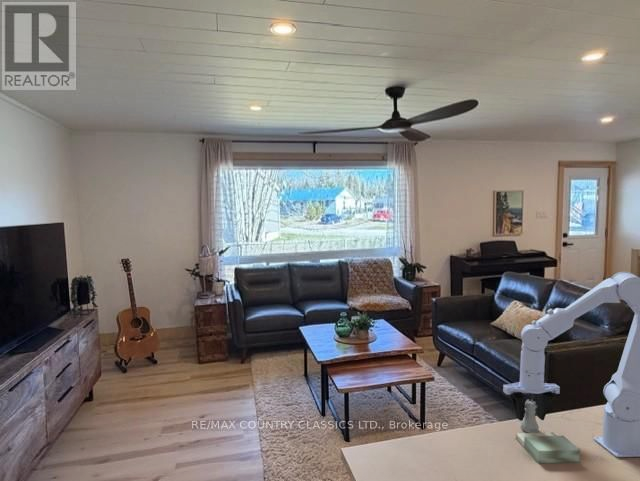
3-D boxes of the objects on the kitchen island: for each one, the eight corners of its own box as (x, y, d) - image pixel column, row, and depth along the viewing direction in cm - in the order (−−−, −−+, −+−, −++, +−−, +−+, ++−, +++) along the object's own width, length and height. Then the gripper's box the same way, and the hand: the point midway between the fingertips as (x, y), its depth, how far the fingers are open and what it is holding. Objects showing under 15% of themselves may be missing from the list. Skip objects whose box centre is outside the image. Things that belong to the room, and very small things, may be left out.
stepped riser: (552, 437, 106) (553, 426, 105) (578, 461, 96) (579, 449, 95) (515, 438, 105) (516, 427, 105) (537, 463, 95) (538, 450, 95)
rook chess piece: (541, 435, 107) (542, 406, 106) (523, 433, 108) (524, 404, 107) (535, 426, 111) (537, 398, 111) (518, 424, 112) (519, 397, 111)
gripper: (549, 363, 112) (547, 410, 114) (498, 364, 112) (496, 411, 113) (565, 374, 105) (563, 423, 107) (511, 375, 105) (509, 425, 106)
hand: (530, 418), depth 109 cm, fingers open, 5 cm apart
